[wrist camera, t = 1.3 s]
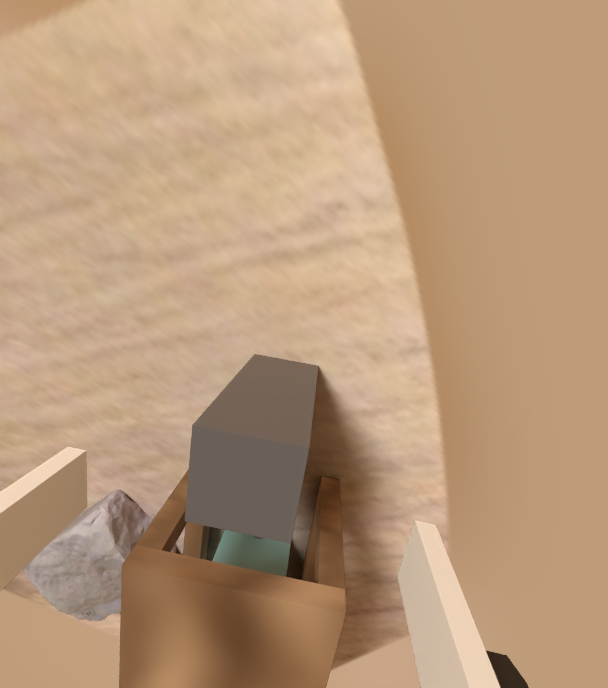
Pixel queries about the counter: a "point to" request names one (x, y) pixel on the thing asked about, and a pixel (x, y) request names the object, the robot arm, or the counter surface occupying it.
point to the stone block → (90, 558)
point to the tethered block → (253, 462)
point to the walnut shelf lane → (230, 608)
